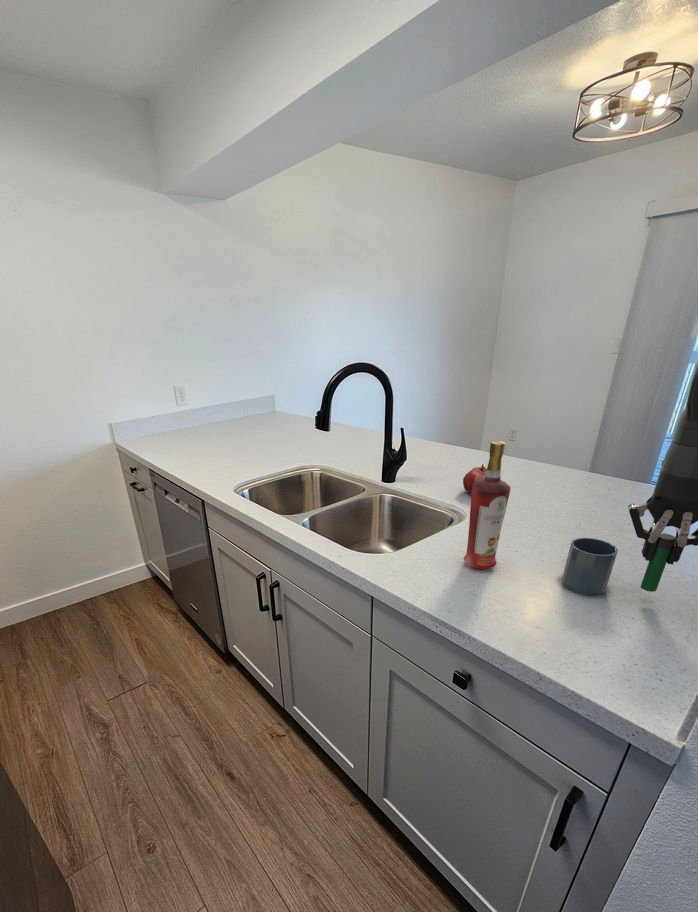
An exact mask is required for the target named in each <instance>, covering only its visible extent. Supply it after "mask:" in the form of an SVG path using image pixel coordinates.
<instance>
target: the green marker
mask: <svg viewBox="0 0 698 912" xmlns="http://www.w3.org/2000/svg"><path fill="white" fill-rule="evenodd" d="M675 540H676V537H675V535H672V534H669V533H665V532H664V533H663V532H662V533H661V534H660V535H659V537H658V539H657V541H656V547H655V550H654V553H653V556H652V559H651V561H648V564H647V566H646V570H645V572H644V575H643V578H642V581H641V584H640V588H641V589H642V590H643V591H646V592H649V593H650V592H651V593H653V592H654V593H655V592H657V590H658V587H659V584H660V582H661V580H662V577H663V573H664V571H665V568H666V565H667V560H668V557H669V554H670V551H671V549H672V548H673V545H674V543H675Z"/></svg>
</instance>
